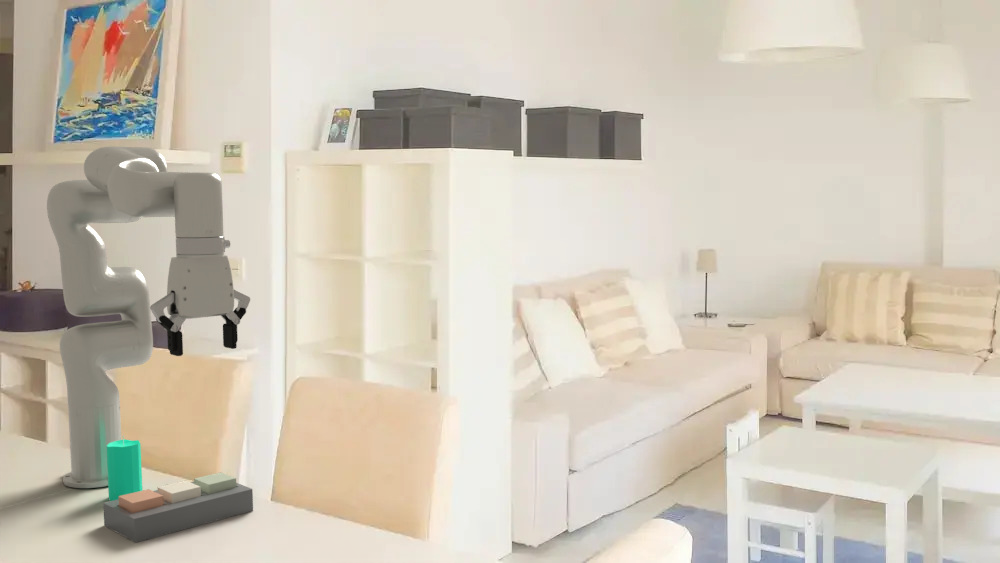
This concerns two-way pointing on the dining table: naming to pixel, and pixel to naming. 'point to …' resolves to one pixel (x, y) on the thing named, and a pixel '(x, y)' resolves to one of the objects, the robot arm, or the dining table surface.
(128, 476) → the candle
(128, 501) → the key terracotta
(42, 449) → the dining table surface
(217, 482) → the key sage
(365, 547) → the dining table surface
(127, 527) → the keypad
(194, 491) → the key cream
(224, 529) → the dining table surface
